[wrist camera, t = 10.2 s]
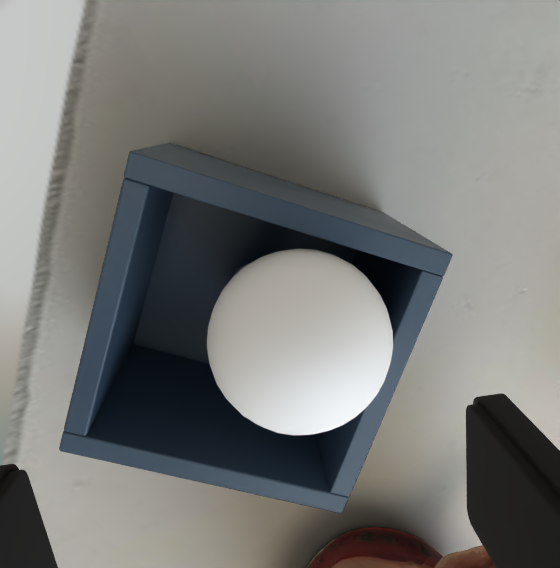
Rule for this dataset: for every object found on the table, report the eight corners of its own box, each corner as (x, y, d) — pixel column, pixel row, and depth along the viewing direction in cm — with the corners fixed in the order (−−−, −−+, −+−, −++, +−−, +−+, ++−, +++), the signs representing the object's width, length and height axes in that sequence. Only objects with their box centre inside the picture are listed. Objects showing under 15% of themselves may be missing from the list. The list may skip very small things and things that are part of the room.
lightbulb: (324, 232, 25) (453, 286, 14) (299, 350, 26) (401, 478, 16) (200, 209, 23) (243, 253, 13) (179, 337, 24) (203, 471, 14)
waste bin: (169, 142, 23) (129, 150, 15) (383, 212, 25) (453, 254, 17) (116, 348, 26) (58, 451, 18) (312, 399, 27) (342, 514, 19)
